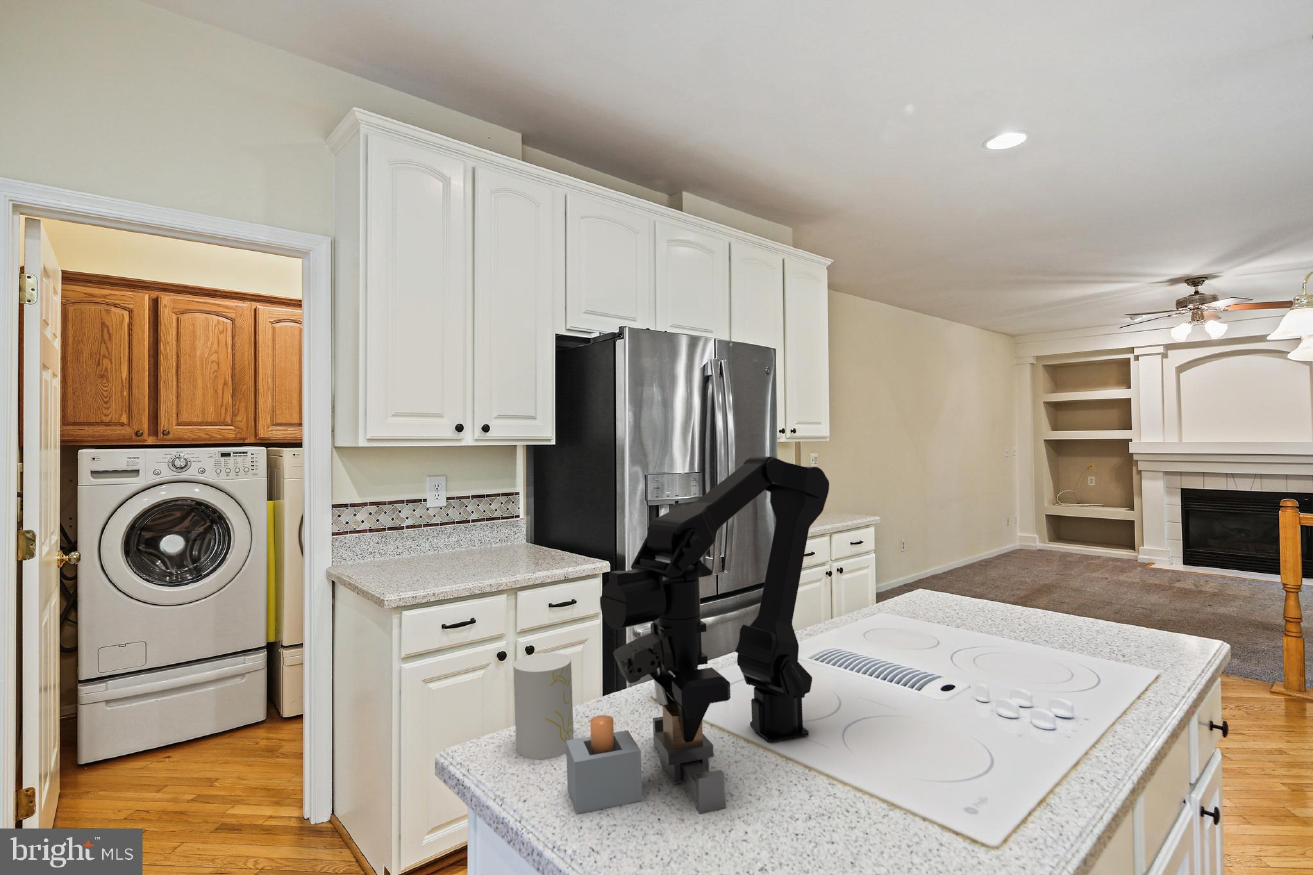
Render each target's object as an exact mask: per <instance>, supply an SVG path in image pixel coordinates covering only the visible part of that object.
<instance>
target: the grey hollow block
mask: <svg viewBox="0 0 1313 875" xmlns="http://www.w3.org/2000/svg"><path fill="white" fill-rule="evenodd" d="M565 754H566V780H567V781H566V783H567V791H568V793H569V797H570V800H571V803H572V805H573V808H574V811H575V814H576V815H579V814H584V813H589V812H595V811H598V810H604V809H607V808H614V807H618V806H624V805H627V804H634V803H638V802H642V801H643V781H642V780H643V779H642V776H643V774H642V750H641V748H640V747H639V745H638V744H637V741H635V739H634V737H633V736H632V734H631V733H630V731H629V730H621V731H614V751H612V752H607V753H601V754H594V753H592V752H591V735H590V736H584V737H579V738H574V739H573V740H567V741H566V753H565Z"/></svg>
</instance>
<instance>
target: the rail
mask: <svg viewBox="0 0 1313 875" xmlns="http://www.w3.org/2000/svg"><path fill="white" fill-rule="evenodd" d="M660 732H663V715H662V716H657V717H652V734H653V735H652V736H653V741H652V742H654V733H660ZM653 748H654V750H658V749H657V748H656V746H655V744H654V743H653ZM680 773H681V784H682V785H683V786H684V789H686V791H687V792H688V794H689V795H690V797H691V798H692V800H693V801H694V803H695V804H696V811H697V812H698V813H699V814H705V813H709V812H714V811H719V810H723V809H726V791H725V789H726V788H725V786H726V784H725V772H724V771H722V769H718V770H712V771H709V772H708V771H707V769H706V768H705V767H704V766H703V764H702V763H701V762H700V761H699V760H695V761H690V762H685V763H680Z"/></svg>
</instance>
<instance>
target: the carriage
mask: <svg viewBox="0 0 1313 875" xmlns="http://www.w3.org/2000/svg"><path fill="white" fill-rule="evenodd" d="M662 716H663V732H660V733H654V741H653V745H654V744H655V746H656V748H657V749H656V750H657V751H658V752H659V761H660V762H659V763H660V764H661V766H662V767H663V769H664V770H665V772H666V773H667V774H668V776H669V777H670V779H671V781H672V782H673V783H674V784H675V785H676V784H680V783H681V784H682V782H681V773H680V763H685V762H690V761H695V760H699V761H700V762H701V763H702V764H703V766H704V767H705V768H706V769H707V771H708V772H710V766H709V765H710V762H709V761H710V760H709V759H710V758H714V757H715V756H714V755H715V754H714V744H713V743H712V742H711V741H710V740H709V739H708V738H707V736H706V735H705V734H704V731H703V721H702V722H701V724H700V727H699V729H698V731H697V734H696V736H695V738H694V740H693V741H692V742H687V743H686V742H685V741H684V737H683V732H682V727H681V721H680V716H679V710H678V704H677V703H672V704H666V705H662Z"/></svg>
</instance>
